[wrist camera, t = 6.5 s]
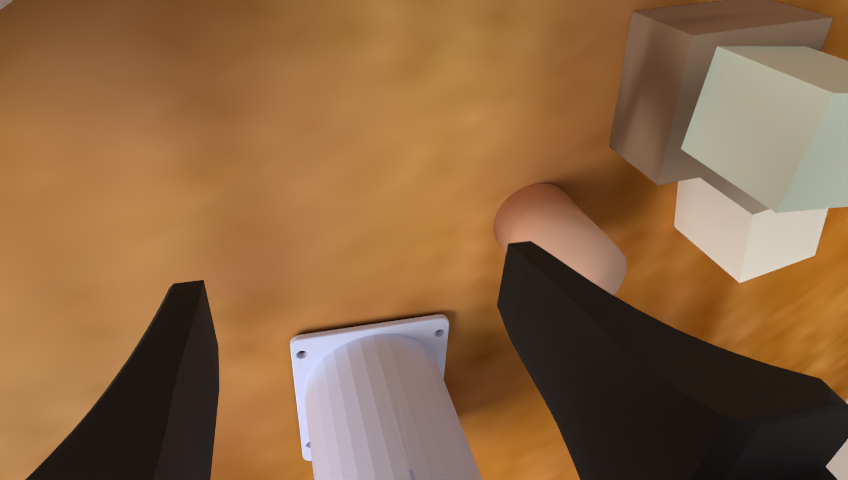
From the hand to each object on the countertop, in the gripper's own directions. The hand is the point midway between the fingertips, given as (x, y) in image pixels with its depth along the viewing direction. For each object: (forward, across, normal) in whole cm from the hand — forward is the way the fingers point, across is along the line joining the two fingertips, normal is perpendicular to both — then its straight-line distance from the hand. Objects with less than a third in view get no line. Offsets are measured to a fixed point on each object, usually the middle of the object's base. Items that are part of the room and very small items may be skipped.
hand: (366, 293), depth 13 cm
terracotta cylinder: (+10, -10, +6) cm, 16 cm away
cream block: (+10, -20, +5) cm, 23 cm away
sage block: (+7, -16, -2) cm, 17 cm away
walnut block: (+11, -16, -1) cm, 19 cm away
